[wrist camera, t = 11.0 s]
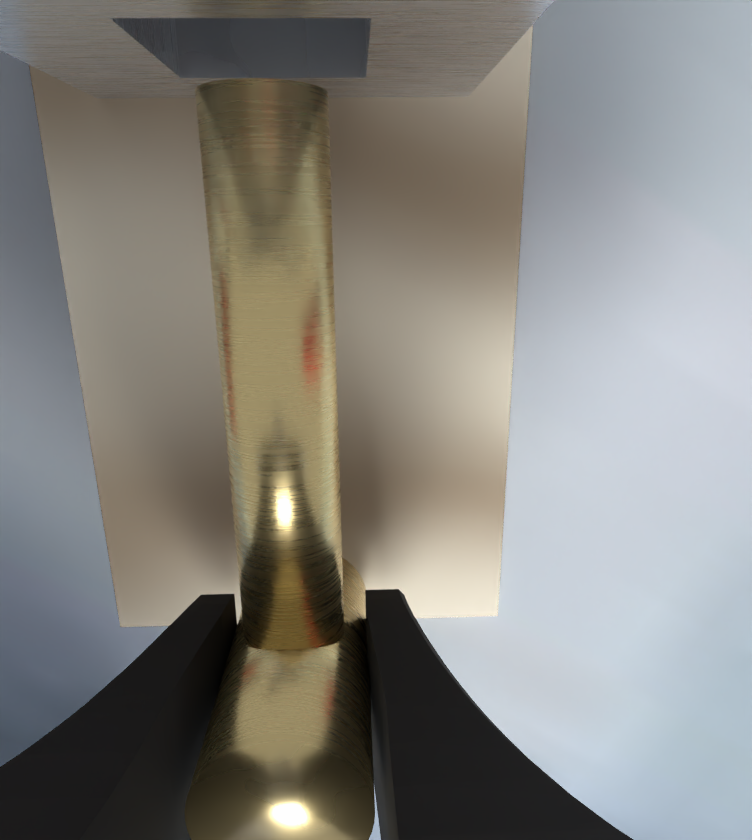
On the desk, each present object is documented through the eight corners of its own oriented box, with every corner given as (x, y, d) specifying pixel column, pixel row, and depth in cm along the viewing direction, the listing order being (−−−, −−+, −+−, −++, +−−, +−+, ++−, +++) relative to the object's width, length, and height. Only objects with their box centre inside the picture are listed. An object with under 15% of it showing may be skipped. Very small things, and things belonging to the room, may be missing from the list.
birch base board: (494, 607, 13) (497, 616, 13) (125, 618, 13) (120, 627, 13) (570, -707, 8) (579, -744, 7) (-89, -729, 7) (-106, -768, 7)
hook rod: (367, 648, 13) (375, 880, 8) (251, 652, 13) (194, 888, 8) (358, 121, 10) (364, 31, 5) (205, 122, 10) (74, 31, 5)
